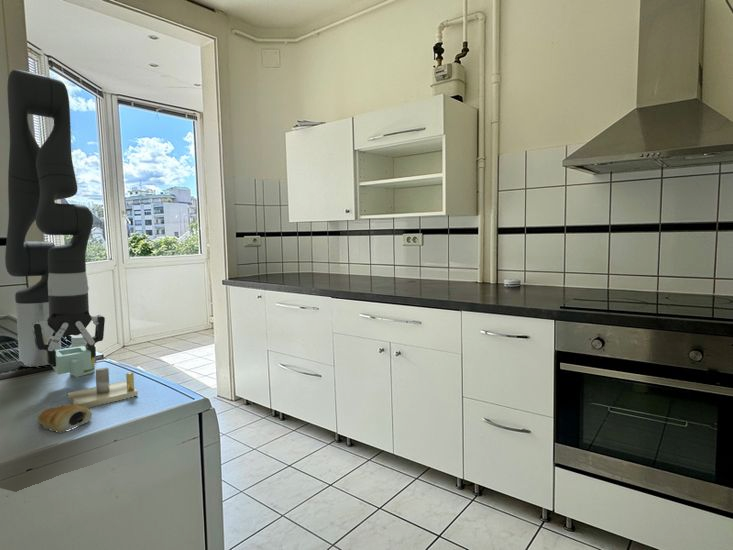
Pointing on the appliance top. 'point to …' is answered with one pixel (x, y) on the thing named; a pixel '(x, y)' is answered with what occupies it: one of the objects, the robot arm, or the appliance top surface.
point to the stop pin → (130, 381)
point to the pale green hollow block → (73, 360)
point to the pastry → (64, 417)
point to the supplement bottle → (80, 341)
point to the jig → (101, 391)
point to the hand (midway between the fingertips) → (71, 362)
